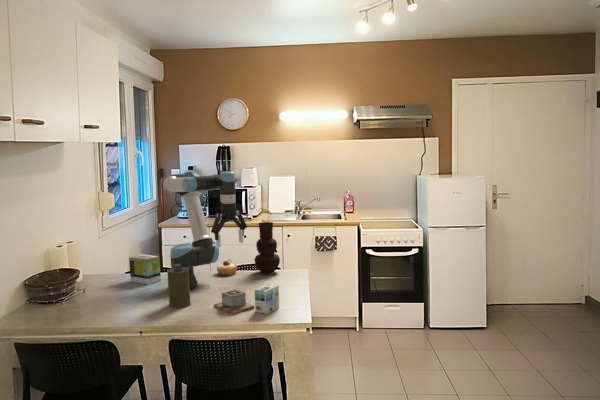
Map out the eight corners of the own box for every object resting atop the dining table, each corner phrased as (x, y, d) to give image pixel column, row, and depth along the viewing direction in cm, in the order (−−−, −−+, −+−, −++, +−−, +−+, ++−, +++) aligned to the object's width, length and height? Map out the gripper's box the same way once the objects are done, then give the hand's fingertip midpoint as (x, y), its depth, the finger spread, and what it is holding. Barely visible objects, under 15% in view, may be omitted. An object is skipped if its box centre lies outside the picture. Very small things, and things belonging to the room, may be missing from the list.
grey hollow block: (222, 305, 239) (221, 292, 238) (236, 301, 244) (235, 289, 243) (231, 309, 233) (231, 296, 232) (245, 304, 238) (245, 292, 237)
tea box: (161, 281, 288) (160, 255, 286) (147, 285, 280) (146, 259, 278) (143, 277, 296) (142, 253, 294) (129, 282, 288) (128, 256, 286)
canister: (171, 309, 238) (169, 268, 235) (166, 303, 247) (164, 263, 245) (194, 305, 243) (192, 265, 240) (188, 299, 252) (186, 260, 250)
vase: (251, 275, 294) (249, 225, 290) (258, 269, 309) (256, 220, 305) (277, 276, 291) (275, 225, 288) (282, 269, 306) (281, 220, 303)
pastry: (220, 271, 307) (219, 257, 306) (239, 271, 305) (238, 257, 304) (214, 276, 295) (213, 261, 294) (234, 276, 293) (233, 261, 293)
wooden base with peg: (214, 306, 241) (213, 292, 240) (234, 300, 249) (234, 286, 248) (233, 314, 229) (232, 299, 228) (254, 308, 237) (253, 293, 236)
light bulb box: (266, 314, 228) (265, 291, 227) (254, 312, 232) (253, 289, 230) (279, 307, 237) (279, 285, 236) (268, 305, 241) (267, 283, 239)
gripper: (210, 205, 240) (213, 249, 243) (252, 200, 257) (254, 241, 259) (202, 204, 246) (204, 247, 248) (244, 199, 262) (245, 239, 265)
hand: (230, 244), depth 254 cm, fingers open, 13 cm apart
